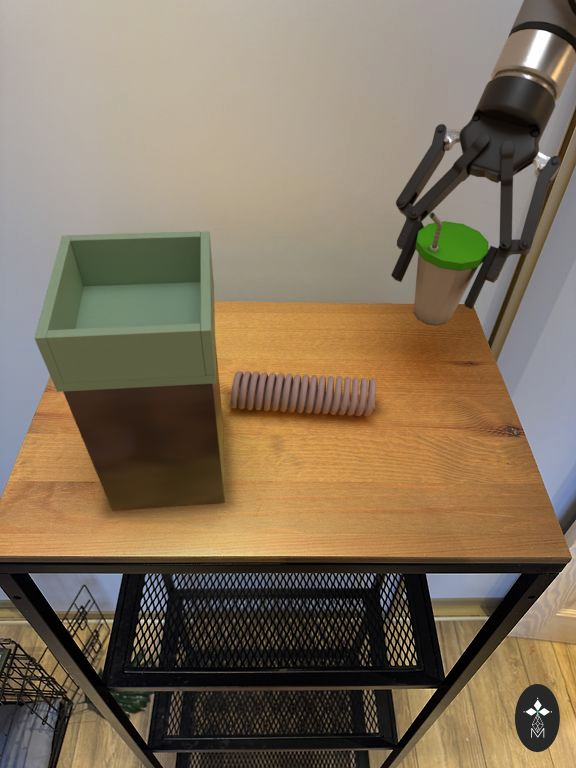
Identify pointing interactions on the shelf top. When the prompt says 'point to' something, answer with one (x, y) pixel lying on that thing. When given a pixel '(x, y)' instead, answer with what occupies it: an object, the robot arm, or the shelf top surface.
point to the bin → (130, 312)
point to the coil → (303, 393)
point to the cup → (445, 268)
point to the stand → (154, 443)
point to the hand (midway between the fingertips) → (431, 292)
